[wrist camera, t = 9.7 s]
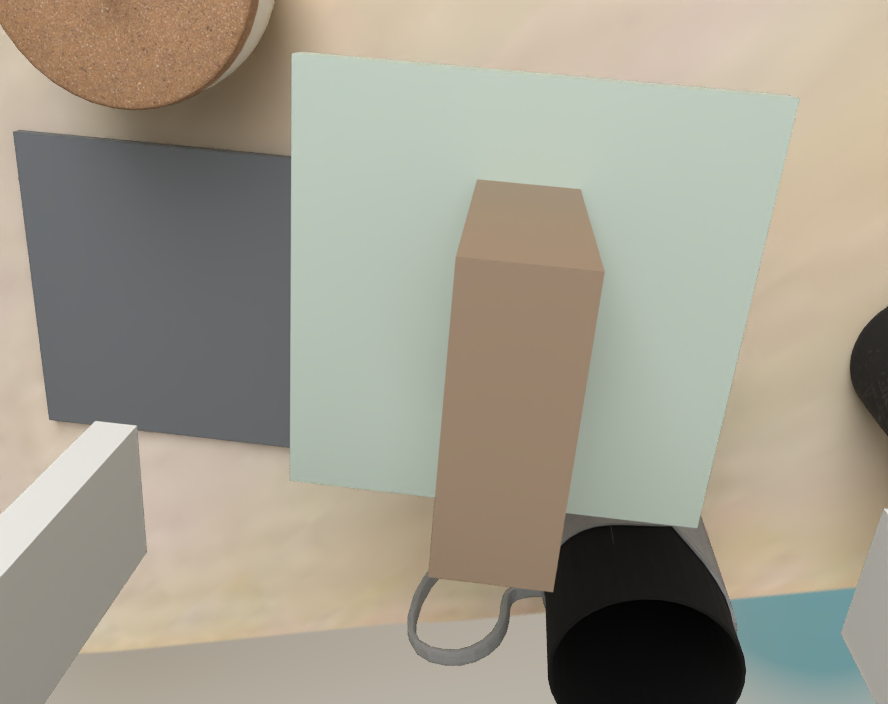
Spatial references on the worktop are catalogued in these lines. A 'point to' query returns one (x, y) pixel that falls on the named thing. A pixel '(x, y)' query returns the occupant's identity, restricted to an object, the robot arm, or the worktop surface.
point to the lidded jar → (135, 45)
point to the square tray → (161, 284)
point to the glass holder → (625, 618)
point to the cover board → (413, 230)
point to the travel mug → (873, 368)
